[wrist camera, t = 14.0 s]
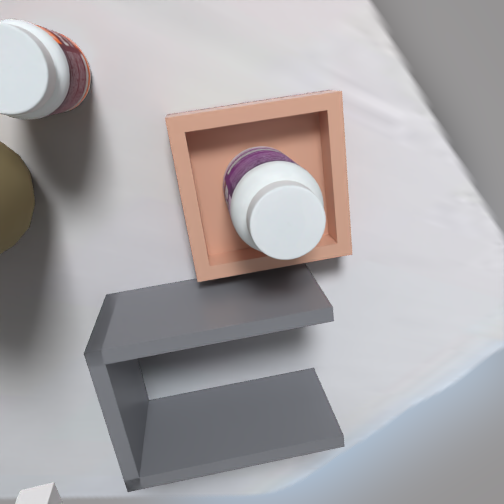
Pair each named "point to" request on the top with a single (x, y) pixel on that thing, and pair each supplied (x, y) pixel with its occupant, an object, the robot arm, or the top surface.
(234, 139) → the dish
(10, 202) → the squeeze bottle
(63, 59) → the pill bottle
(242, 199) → the pill bottle
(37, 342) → the top surface
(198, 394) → the bay
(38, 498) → the robot arm
